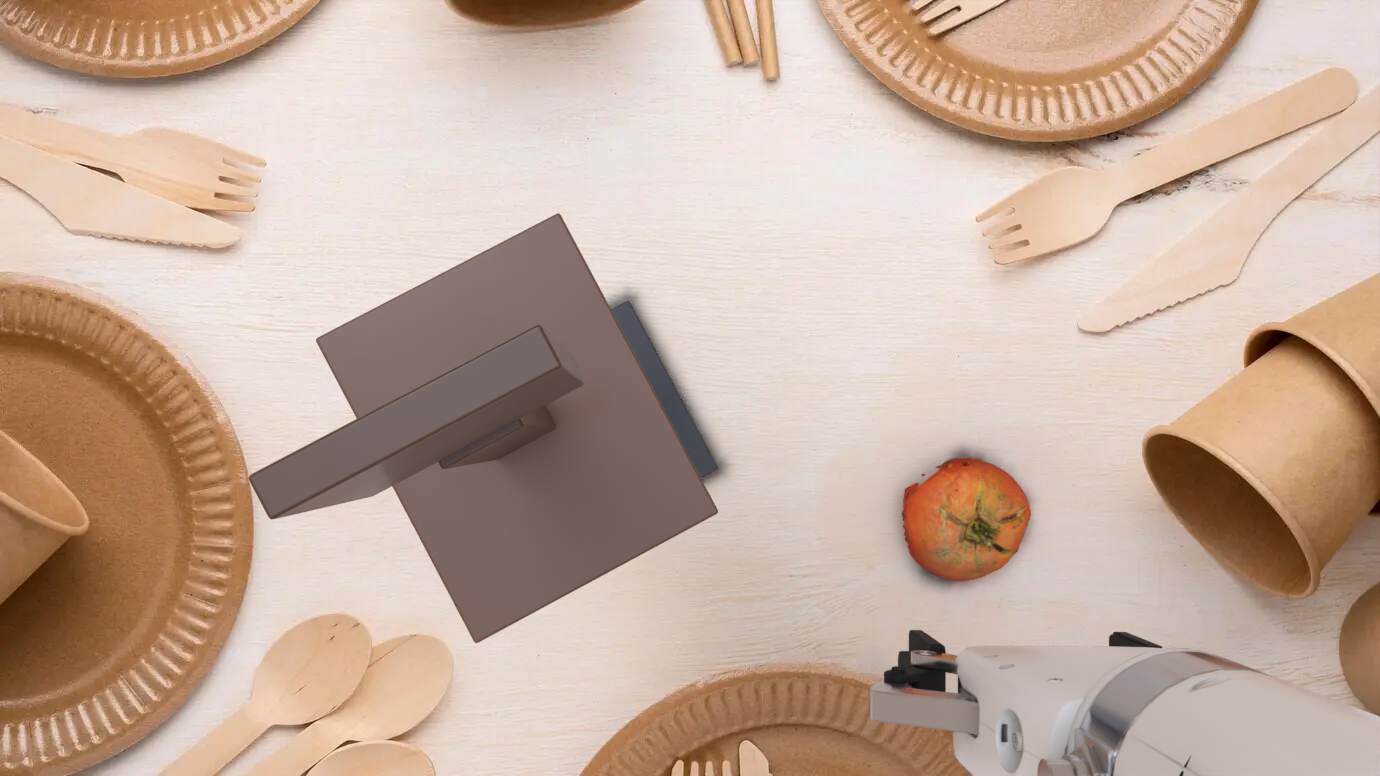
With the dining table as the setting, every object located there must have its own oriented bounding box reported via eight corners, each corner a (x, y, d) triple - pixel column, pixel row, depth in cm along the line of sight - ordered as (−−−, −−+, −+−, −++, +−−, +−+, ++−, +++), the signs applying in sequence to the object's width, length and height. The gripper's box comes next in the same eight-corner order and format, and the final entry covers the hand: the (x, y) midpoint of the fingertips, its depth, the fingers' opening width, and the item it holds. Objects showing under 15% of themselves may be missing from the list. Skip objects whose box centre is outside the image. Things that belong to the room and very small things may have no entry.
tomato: (880, 576, 65) (938, 511, 60) (876, 488, 70) (929, 421, 65) (995, 608, 67) (1061, 547, 62) (983, 520, 72) (1044, 457, 66)
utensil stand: (717, 468, 67) (915, 575, 17) (549, 558, 66) (237, 947, 16) (628, 301, 67) (564, -79, 17) (460, 390, 66) (-117, 262, 16)
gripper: (928, 898, 33) (834, 742, 50) (1472, 899, 33) (1195, 744, 50) (929, 653, 33) (835, 582, 50) (1467, 658, 34) (1193, 585, 51)
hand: (1015, 663), depth 50 cm, fingers open, 9 cm apart
